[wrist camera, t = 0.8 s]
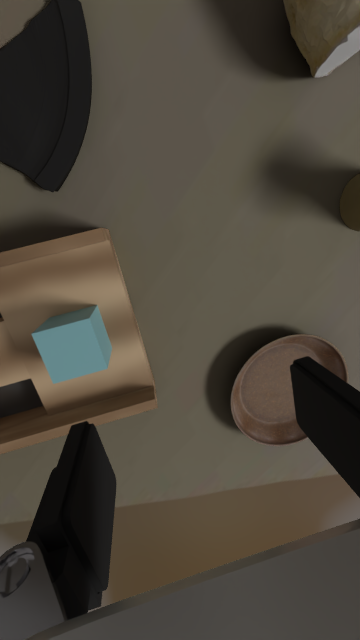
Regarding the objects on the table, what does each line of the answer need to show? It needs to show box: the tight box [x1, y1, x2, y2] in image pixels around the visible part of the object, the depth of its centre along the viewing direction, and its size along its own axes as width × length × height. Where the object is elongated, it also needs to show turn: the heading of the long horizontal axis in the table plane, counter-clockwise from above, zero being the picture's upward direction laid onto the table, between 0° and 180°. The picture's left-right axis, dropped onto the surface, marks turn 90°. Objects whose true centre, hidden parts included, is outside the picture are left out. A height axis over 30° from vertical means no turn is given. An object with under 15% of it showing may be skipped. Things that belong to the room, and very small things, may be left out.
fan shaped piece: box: [0, 0, 92, 192], centre depth 23 cm, size 8×14×2 cm, turn 148°
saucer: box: [231, 334, 348, 446], centre depth 34 cm, size 15×15×3 cm
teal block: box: [32, 305, 112, 384], centre depth 24 cm, size 4×4×4 cm
